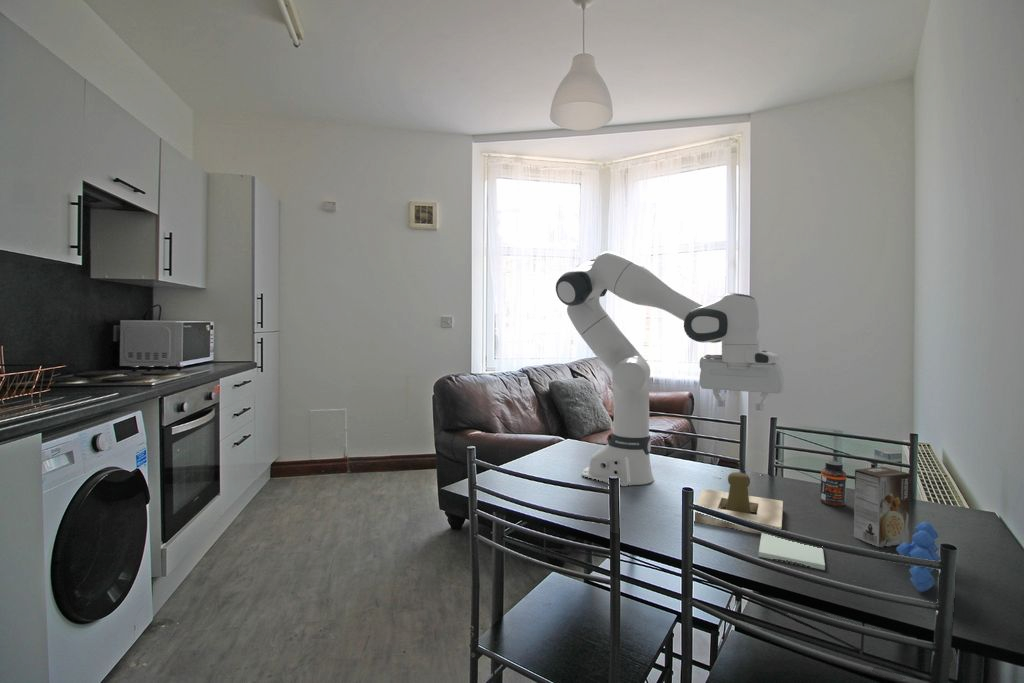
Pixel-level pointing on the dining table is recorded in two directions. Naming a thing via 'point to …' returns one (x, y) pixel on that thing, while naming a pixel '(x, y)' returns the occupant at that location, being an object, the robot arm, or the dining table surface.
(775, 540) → the pad
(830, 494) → the supplement bottle
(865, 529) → the cookie box
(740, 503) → the cork
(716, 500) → the socket plate
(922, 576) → the grapes
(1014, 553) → the dining table surface
